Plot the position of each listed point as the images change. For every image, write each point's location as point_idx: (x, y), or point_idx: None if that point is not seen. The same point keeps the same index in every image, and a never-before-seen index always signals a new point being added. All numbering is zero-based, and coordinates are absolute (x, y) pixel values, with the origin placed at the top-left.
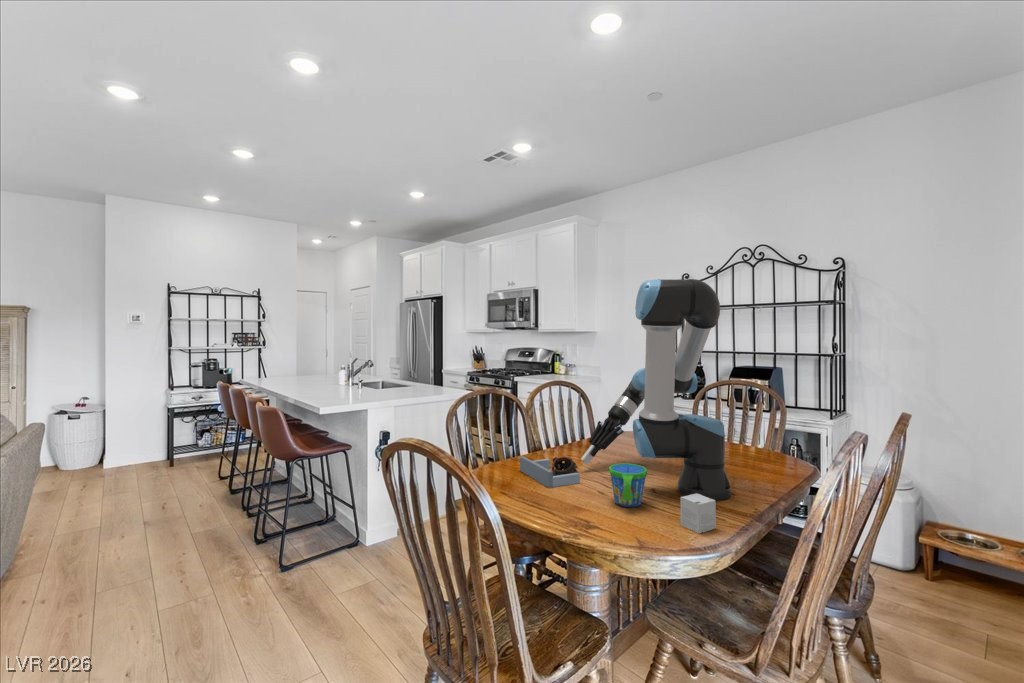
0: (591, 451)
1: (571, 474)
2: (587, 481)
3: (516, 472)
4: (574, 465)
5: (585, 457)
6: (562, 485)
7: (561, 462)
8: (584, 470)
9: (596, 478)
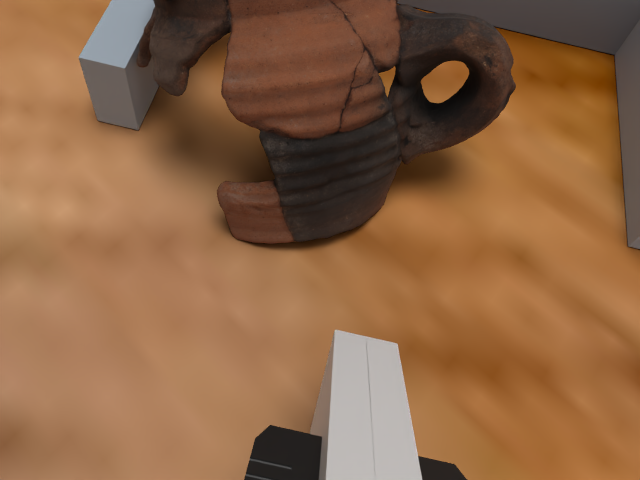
0: (319, 471)
1: (125, 3)
2: (70, 197)
3: None
4: (167, 30)
5: (330, 359)
6: None
7: (396, 72)
8: None
9: (55, 334)
